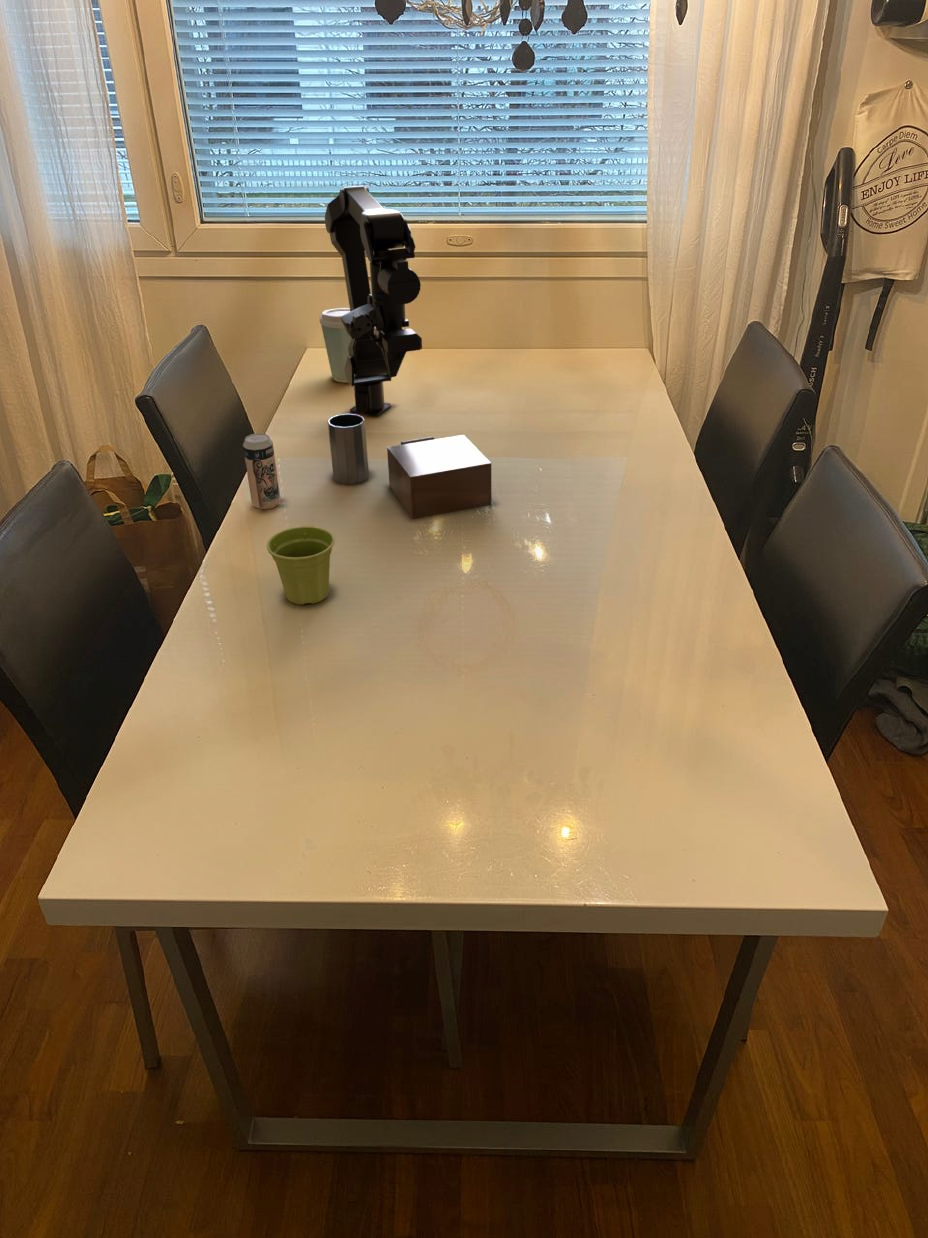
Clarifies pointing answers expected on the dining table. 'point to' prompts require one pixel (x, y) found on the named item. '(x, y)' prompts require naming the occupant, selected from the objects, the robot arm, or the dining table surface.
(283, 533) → the plant pot
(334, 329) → the disposable coffee cup
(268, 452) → the beer can
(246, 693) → the dining table surface
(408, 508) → the cabinet
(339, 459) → the tapered cup
